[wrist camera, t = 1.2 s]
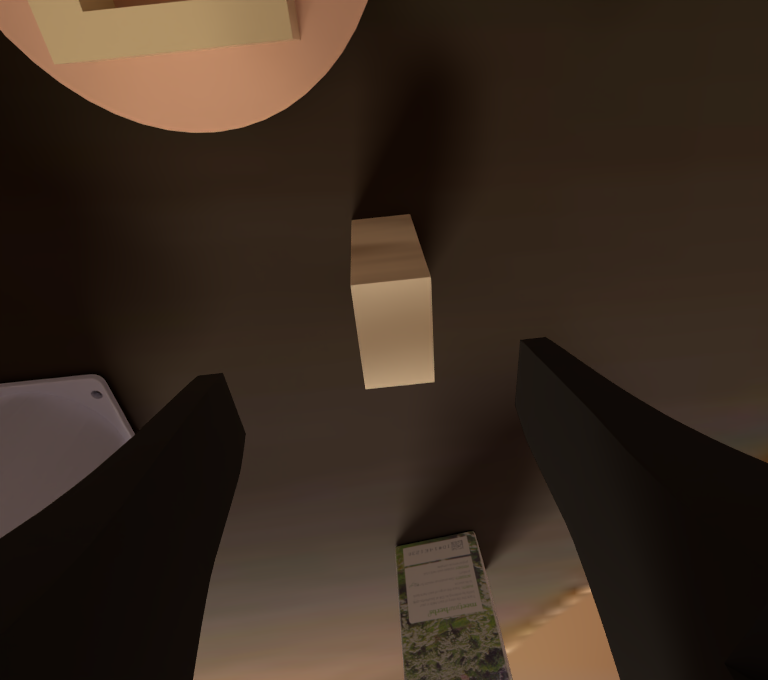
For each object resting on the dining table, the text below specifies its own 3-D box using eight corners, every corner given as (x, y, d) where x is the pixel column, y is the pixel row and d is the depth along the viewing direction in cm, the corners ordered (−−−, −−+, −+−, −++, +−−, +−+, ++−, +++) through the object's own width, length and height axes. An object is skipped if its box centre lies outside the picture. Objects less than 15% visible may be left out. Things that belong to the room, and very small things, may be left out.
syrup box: (411, 586, 34) (443, 886, 22) (392, 542, 31) (416, 865, 19) (486, 571, 33) (561, 870, 21) (474, 525, 30) (554, 847, 18)
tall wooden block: (415, 300, 21) (434, 381, 16) (362, 305, 21) (365, 389, 16) (409, 214, 18) (430, 276, 13) (351, 220, 18) (350, 285, 13)
